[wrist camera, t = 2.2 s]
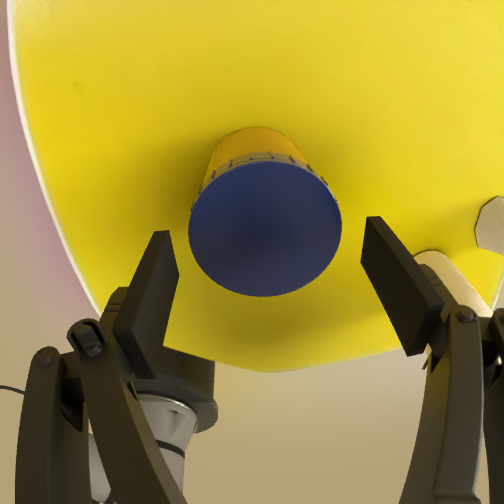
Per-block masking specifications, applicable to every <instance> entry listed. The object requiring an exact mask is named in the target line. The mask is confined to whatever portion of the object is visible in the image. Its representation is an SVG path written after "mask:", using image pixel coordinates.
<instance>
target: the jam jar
mask: <svg viewBox="0 0 504 504" xmlns="http://www.w3.org/2000/svg"><path fill="white" fill-rule="evenodd" d="M270 151H272V152H274V153H281V154H285V155H288V156H290V155H292V157H294V158H296V159H298V160H300V161H302V162H303V163H305V164H308V163H307V161H306V160H305V159H304V157H303V156H302V155H301V154H300V152H299V151H298V150H297V148H296V147H295V146H294V145H293V143H292V142H291V141H290V140H289V139H288V138H286V137H285V136H284V135H282V134H280V133H279V132H276V131H274V130H271V129H268V128H261V127H251V128H245V129H241V130H239V131H236V132H234V133H232V134H231V135H229V136H228V137H226V138H225V139H224V140H223V141H222V142H221V143H220V144H219V145H218V146H217V148H216V149H215V151H214V153H213V155H212V157H211V160H210V163H209V166H208V169H207V171H206V174H205V177H204V180H203V183H204V182H205V181H206V179H207V178H208V177H209V176H210V175H211V174H212V171H213V170H216V169H217V168H219V167H220V166H221V165H223V164H224V163H226V162H228V161H229V159H230V158H231V159H234V158H236V157H239V156H242V155H245V154H249V152H251V153H256V152H270ZM203 183H202V185H203Z"/></svg>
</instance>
